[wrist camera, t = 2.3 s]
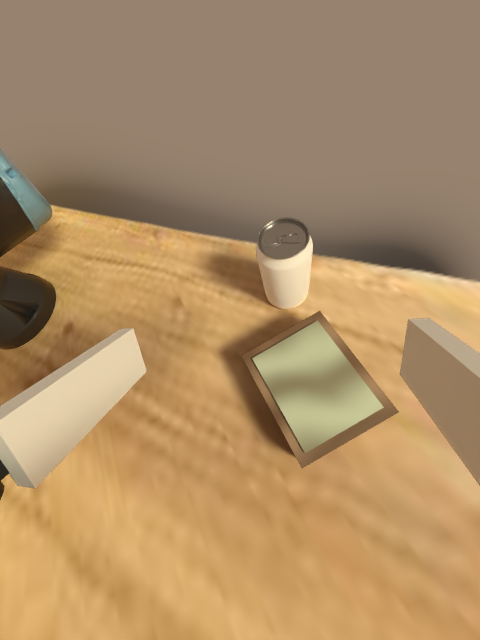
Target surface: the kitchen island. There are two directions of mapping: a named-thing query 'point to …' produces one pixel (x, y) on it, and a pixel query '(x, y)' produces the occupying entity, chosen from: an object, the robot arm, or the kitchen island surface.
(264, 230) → the can
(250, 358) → the plinth
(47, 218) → the robot arm
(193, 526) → the kitchen island surface
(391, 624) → the kitchen island surface
